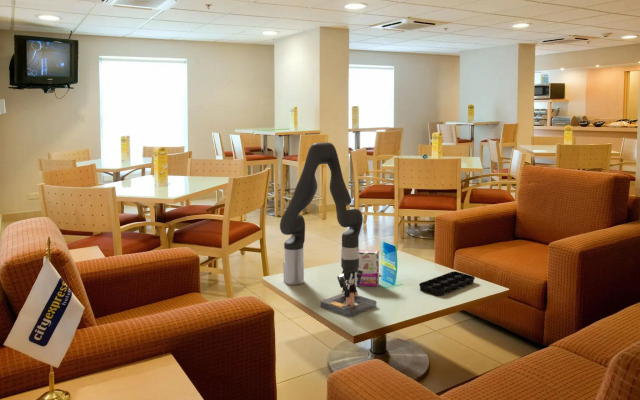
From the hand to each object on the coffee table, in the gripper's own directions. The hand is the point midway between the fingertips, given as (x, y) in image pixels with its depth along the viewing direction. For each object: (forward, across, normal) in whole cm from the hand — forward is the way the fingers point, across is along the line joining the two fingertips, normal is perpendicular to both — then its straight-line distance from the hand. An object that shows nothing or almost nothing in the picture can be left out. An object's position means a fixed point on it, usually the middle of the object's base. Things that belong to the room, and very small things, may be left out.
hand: (350, 295), depth 232 cm
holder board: (+5, +1, 0) cm, 5 cm away
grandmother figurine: (+5, 0, 0) cm, 5 cm away
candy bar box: (+5, -26, -13) cm, 29 cm away
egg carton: (+5, -50, +16) cm, 53 cm away
